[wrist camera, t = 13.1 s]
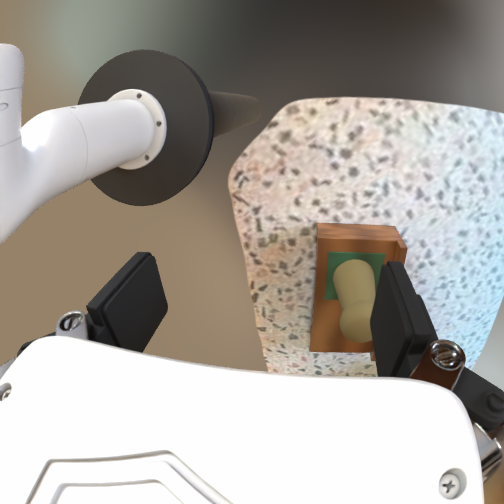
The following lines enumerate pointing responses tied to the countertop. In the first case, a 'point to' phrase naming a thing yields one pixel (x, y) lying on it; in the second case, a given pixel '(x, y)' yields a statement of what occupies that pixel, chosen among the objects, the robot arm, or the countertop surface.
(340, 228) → the wooden shelf
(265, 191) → the countertop surface
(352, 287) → the cork
